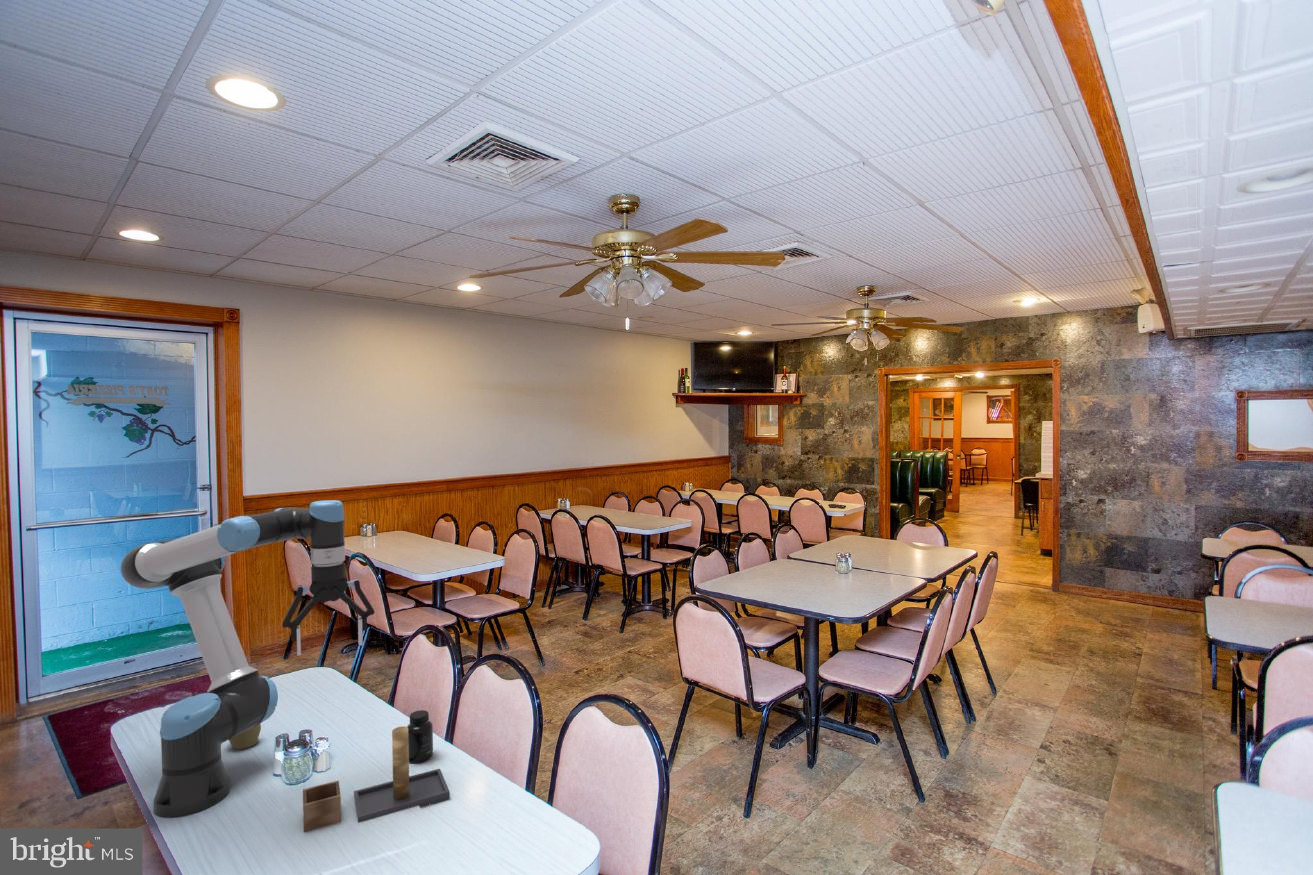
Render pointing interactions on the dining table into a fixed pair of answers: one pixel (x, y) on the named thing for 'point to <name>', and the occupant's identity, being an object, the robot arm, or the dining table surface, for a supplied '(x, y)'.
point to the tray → (421, 793)
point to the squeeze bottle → (246, 738)
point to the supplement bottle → (420, 737)
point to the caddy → (321, 805)
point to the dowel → (400, 763)
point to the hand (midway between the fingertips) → (330, 648)
